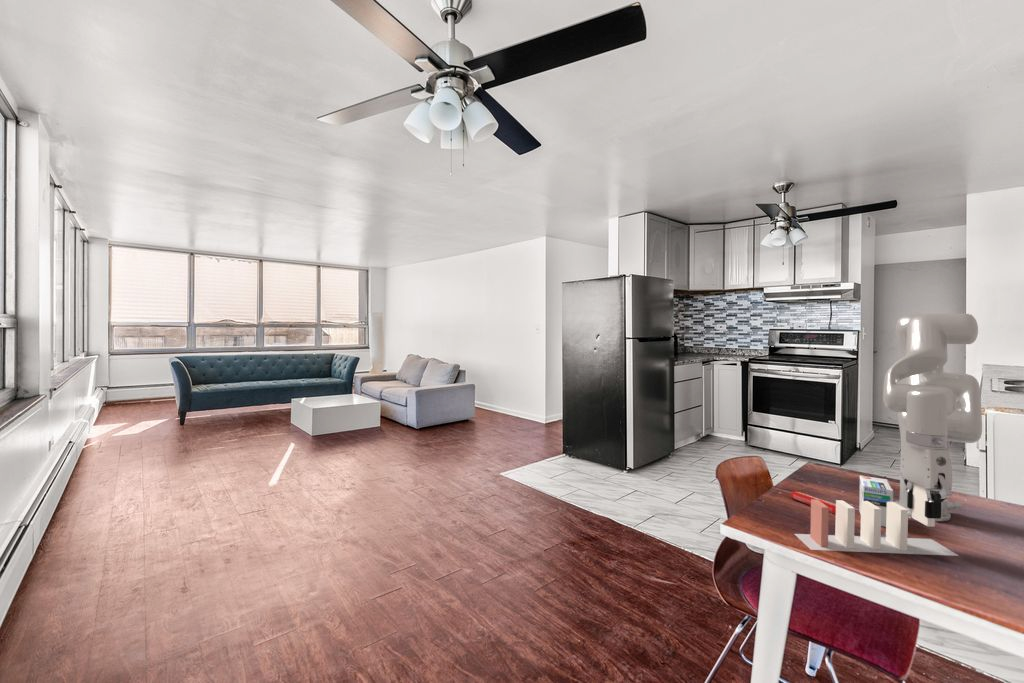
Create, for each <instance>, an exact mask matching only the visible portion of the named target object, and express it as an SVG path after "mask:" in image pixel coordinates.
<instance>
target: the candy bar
mask: <svg viewBox="0 0 1024 683" xmlns="http://www.w3.org/2000/svg"><path fill="white" fill-rule="evenodd" d="M788 496H790V497H791V499H794V500H795V501H798V502H800V503H803V504H806V505H809V506H811V499H813V500H819V501H820V502H822V503H823V504H825V505H826V506H827V507H829V513H831V514H833V515H836V503H833V502H829V501H828V500H824V499H822V498H818V497H815V496H813V495H810V494H807V493H804V492H799V491H795V490H794V491H792V492H791V493H789V494H788Z"/></svg>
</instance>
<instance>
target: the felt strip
mask: <svg viewBox="0 0 1024 683" xmlns="http://www.w3.org/2000/svg"><path fill="white" fill-rule="evenodd" d="M794 536H796V537H797V538H798V540H799V541H801V542H802V543H803V544H804V545H805V546H806V547H808V548H809V550H810V551H828V552H829V551H831V552H832V551H833V552H851V553H852V552H853V553H855V552H857V553H877V554H878V553H880V554H904V555H905V554H906V555H927V556H928V555H930V556H931V555H932V556H952V557H953V556H954V557H955V556H956V557H959V556H960V555H959V554H957V553H955V552H953V550H950V549H949V548H947V547H945V546H943V545H942V544H940V543H939V542H937V541H936V540H934V539H932V538H916V537H907V550H899V549H898V548H896V547H895V546H893V545H892V544H891V543H889V542H888V541H886V536H881V544H880V549H873V548H871V547H870V546H869V545H867V544H866V543H865V542H863V541H862V540H861V539H860V535H854V548H847V547H845V546H844V545H843V544H842V543H840V542H839V541H838V540H837V539H835V534H828V547H821V546H820V545H818V544H817V543H816V542H815V541H814V540H813V539H812V538H811V537H810V533H807V534H806V533H794Z"/></svg>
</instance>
